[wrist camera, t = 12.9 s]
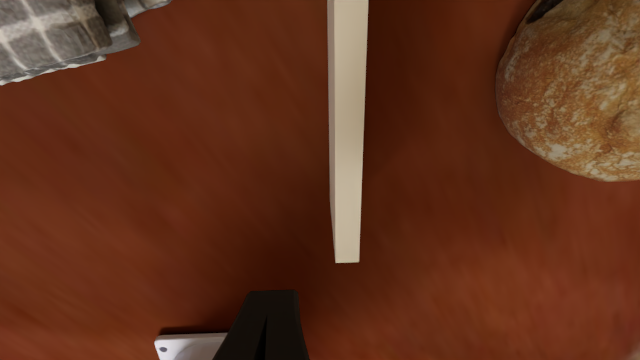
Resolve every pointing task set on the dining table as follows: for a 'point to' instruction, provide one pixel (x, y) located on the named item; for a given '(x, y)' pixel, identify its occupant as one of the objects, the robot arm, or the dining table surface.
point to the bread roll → (576, 86)
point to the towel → (64, 33)
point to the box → (346, 121)
